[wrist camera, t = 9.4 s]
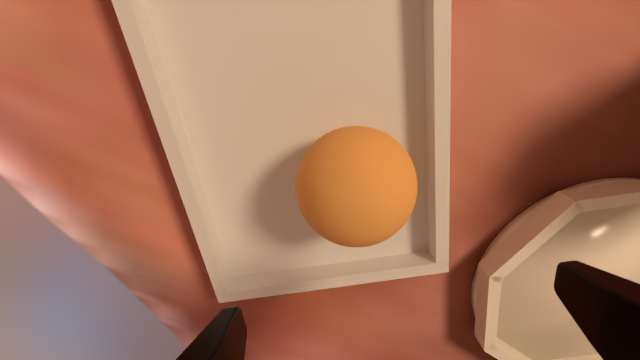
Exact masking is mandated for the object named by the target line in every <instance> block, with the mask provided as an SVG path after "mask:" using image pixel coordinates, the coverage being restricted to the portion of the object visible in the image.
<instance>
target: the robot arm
mask: <svg viewBox="0 0 640 360" xmlns="http://www.w3.org/2000/svg"><path fill="white" fill-rule="evenodd" d="M554 290H555V293H556V295H557V296H558V298H559V299H560V300H561V302H562V303H563V305H564V306H565V308H566V309H567V311H568V312H569V313H570V315H571V316H572V318H573V319H574V321H575V322H576V324H577V325H578V326H579V328H580V329H581V331H582V332H583V334H584V335H585V336H586V338H587V339H588V341H589V342H590V343H591V345H592V346H593V347H594V349H595V350H596V351H597V353H598V354H599V355H600V356H601V358H602V359H603V360H640V284H639V283H636V282H633V281H630V280H628V279H625V278H622V277H620V276H617V275H614V274H612V273H609V272H606V271H604V270H601V269H598V268H595V267H593V266H590V265H587V264H585V263H582V262H579V261H575V260H572V261H565V262H560V263H559V264H558V265H557V268H556V274H555V280H554ZM246 338H247V329H246V325H245V321H244V318H243V315H242V312H241V309H240V308H239V307H238V306H231V307H226V308H224V309H222V310H221V312H220V313H219V314H218V315H217V316H216V317H215V318H214V319H213V320H212V321H211V322H210V323H209V324H208V326H207V327H206V328H205V329H204V330H203V331H202V332H201V333H200V334H199V335H198V336H197V337H196V338H195V340H194V341H193V342H192V343H191V344H190V345H189V346H188V347H187V348H186V349H185V350H184V351H183V353H182V354H181V355H180V356H179V357H178V358H177V359H176V360H244V357H245V347H246Z"/></svg>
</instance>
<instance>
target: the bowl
mask: <svg viewBox="0 0 640 360" xmlns="http://www.w3.org/2000/svg"><path fill="white" fill-rule="evenodd" d="M572 260H575V261H579V262H582V263H585V264H587V265H590V266H593V267H595V268H598V269H601V270H604V271H606V272H609V273H612V274H614V275H617V276H620V277H622V278H625V279H628V280H630V281H633V282H636V283H639V284H640V179H638V178H627V177H614V178H602V179H597V180H592V181H587V182H583V183H579V184H576V185H573V186H570V187H567V188H565V189H562V190H560V191H557V192H555V193H553V194H551V195H549V196H547V197H545V198H543V199H541V200H540V201H538V202H536V203H534V204H533V205H531V206H530V207H529V208H527V209H526V210H524V211H523V212H521V213H520V214H519V215H518V216H516V217H515V218H514V219H513V220H512V221H510V222H509V223H508V224H507V225H506V226H505V227H504V228H503V229H502V230H501V231H500V232H499V233H498V234H497V236H496V237H495V238H494V240H493V241H492V242H491V243H490V245H489V246H488V248H487V249H486V251H485V252H484V254H483V256H482V257H481V259H480V261H479V263H478V266H477V268H476V271H475V274H474V278H473V281H472V288H471V305H472V309H473V314H474V316H475V333H474V335H475V336H476V338H477V340H478V342H479V343H480V345H481V347H482V348H483V350H484V351H485V352H486V353H488V354H490V355H491V356H493V357H495V358H496V359H498V360H603V359H602V358H601V356H600V355H599V354H598V353H597V351H596V350H595V349H594V347H593V346H592V345H591V343H590V342H589V341H588V339H587V338H586V336H585V335H584V334H583V332H582V331H581V329H580V328H579V326H578V325H577V324H576V322H575V321H574V319H573V318H572V316H571V315H570V313H569V312H568V311H567V309H566V308H565V306H564V305H563V303H562V302H561V300H560V299H559V298H558V296H557V295H556V293H555V290H554V280H555V274H556V268H557V265H558V264H559V263H560V262H565V261H572Z"/></svg>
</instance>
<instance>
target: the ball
mask: <svg viewBox="0 0 640 360" xmlns="http://www.w3.org/2000/svg"><path fill="white" fill-rule="evenodd" d="M417 188H418V183H417V175H416V171H415V168H414V165H413V163H412V160H411V158H410V157H409V155H408V153H407V152H406V151H405V149H404V148H403V147H402V146H401V144H400V143H398V142H397V141H396V140H395V139H394V138H392V137H391V136H389V135H388V134H386V133H384V132H382V131H380V130H377V129H374V128H371V127H365V126H347V127H342V128H338V129H335V130H333V131H330V132H328V133H326V134H325V135H323V136H322V137H320V138H319V139H318V140H316V141H315V142H314V143H313V144H312V145H311V146H310V148H309V149H308V150H307V151H306V153H305V154H304V156H303V157H302V160H301V162H300V164H299V167H298V170H297V174H296V180H295V192H296V199H297V203H298V206H299V209H300V211H301V213H302V215H303V217H304V219H305V220H306V222H307V223H308V224H309V225H310V227H311V228H312V229H313V230H314V231H315V232H316V233H317V234H319V235H320V236H322V237H323V238H325V239H327V240H328V241H330V242H332V243H335V244H338V245H341V246H346V247H367V246H372V245H375V244H378V243H381V242H383V241H385V240H387V239H388V238H390V237H391V236H393V235H394V234H395V233H397V232H398V231H399V230H400V229H401V228H402V227H403V225H404V224H405V223H406V222H407V220H408V219H409V217H410V215H411V213H412V211H413V209H414V206H415V202H416V198H417Z"/></svg>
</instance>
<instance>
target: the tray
mask: <svg viewBox="0 0 640 360" xmlns="http://www.w3.org/2000/svg"><path fill="white" fill-rule="evenodd" d="M111 1H112V4H113V7H114V9H115V12H116V15H117V18H118V21H119V24H120V26H121V29H122V32H123V35H124V38H125V40H126V43H127V46H128V49H129V52H130V55H131V57H132V60H133V63H134V66H135V69H136V71H137V74H138V77H139V80H140V83H141V86H142V88H143V91H144V94H145V97H146V100H147V102H148V105H149V108H150V111H151V114H152V117H153V119H154V122H155V125H156V128H157V131H158V133H159V136H160V139H161V142H162V145H163V148H164V150H165V153H166V156H167V159H168V162H169V164H170V167H171V170H172V173H173V176H174V179H175V181H176V184H177V187H178V190H179V193H180V195H181V198H182V201H183V204H184V207H185V210H186V212H187V215H188V218H189V221H190V224H191V226H192V229H193V232H194V235H195V238H196V241H197V243H198V246H199V249H200V252H201V255H202V257H203V260H204V263H205V266H206V269H207V272H208V274H209V277H210V280H211V283H212V286H213V288H214V291H215V294H216V297H217V300H218V303H224V302H231V301H239V300H246V299H253V298H261V297H268V296H276V295H283V294H290V293H298V292H305V291H312V290H320V289H327V288H334V287H342V286H349V285H356V284H364V283H371V282H378V281H386V280H393V279H401V278H408V277H415V276H423V275H430V274H437V273H445V272H449V193H450V88H451V0H111ZM347 126H365V127H371V128H374V129H377V130H380V131H382V132H384V133H386V134H388V135H389V136H391V137H392V138H394V139H395V140H396V141H397V142H398V143H400V144H401V146H402V147H403V148H404V149H405V151H406V152H407V153H408V155H409V157H410V158H411V160H412V163H413V165H414V168H415V171H416V175H417V183H418V188H417V198H416V202H415V206H414V209H413V211H412V213H411V215H410V217H409V219H408V220H407V222H406V223H405V224H404V225H403V227H402V228H401V229H400V230H399V231H398V232H397V233H395V234H394V235H393V236H391V237H390V238H388V239H387V240H385V241H383V242H381V243H378V244H375V245H372V246H367V247H346V246H341V245H338V244H335V243H332V242H330V241H328V240H327V239H325V238H323V237H322V236H320V235H319V234H317V233H316V232H315V231H314V230H313V229H312V228H311V227H310V225H309V224H308V223H307V222H306V220H305V219H304V217H303V215H302V213H301V211H300V209H299V206H298V203H297V199H296V192H295V180H296V174H297V170H298V167H299V164H300V162H301V160H302V157H303V156H304V154H305V153H306V151H307V150H308V149H309V148H310V146H311V145H312V144H313V143H314V142H315V141H316V140H318V139H319V138H320V137H322V136H323V135H325V134H326V133H328V132H330V131H333V130H335V129H338V128H342V127H347Z"/></svg>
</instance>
